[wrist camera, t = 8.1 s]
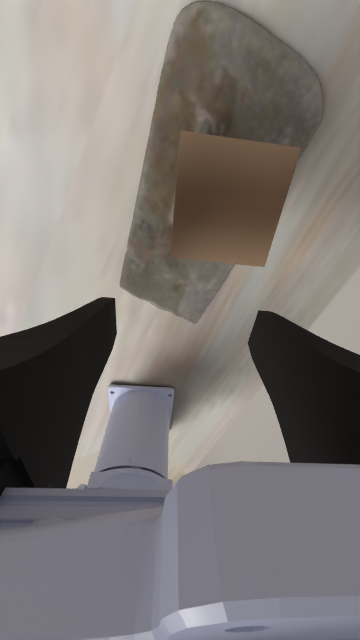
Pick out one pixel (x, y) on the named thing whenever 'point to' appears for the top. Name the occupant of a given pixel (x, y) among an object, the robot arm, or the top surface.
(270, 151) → the walnut block
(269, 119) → the stone
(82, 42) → the top surface
